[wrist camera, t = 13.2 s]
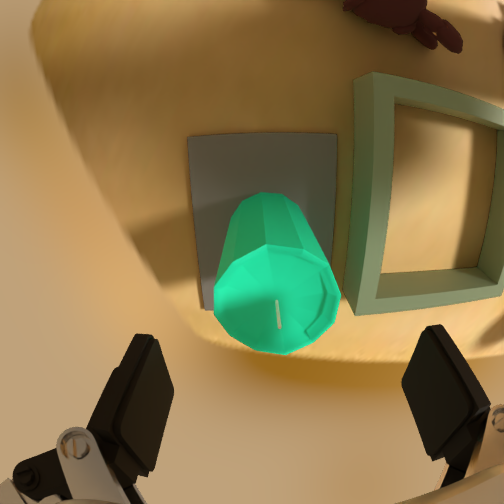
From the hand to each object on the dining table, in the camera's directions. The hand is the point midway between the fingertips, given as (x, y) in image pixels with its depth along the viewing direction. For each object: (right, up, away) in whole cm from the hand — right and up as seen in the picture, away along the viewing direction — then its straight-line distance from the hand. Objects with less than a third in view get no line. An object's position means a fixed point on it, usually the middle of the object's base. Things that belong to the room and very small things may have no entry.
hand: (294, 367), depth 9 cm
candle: (0, +6, +14) cm, 15 cm away
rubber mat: (0, +6, +14) cm, 15 cm away
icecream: (+7, +24, +6) cm, 26 cm away
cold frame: (+15, +9, +12) cm, 22 cm away
